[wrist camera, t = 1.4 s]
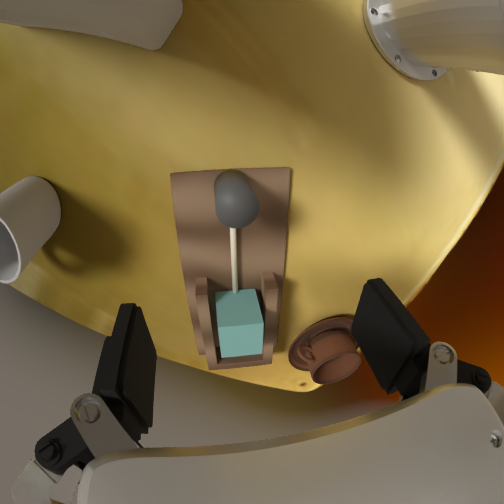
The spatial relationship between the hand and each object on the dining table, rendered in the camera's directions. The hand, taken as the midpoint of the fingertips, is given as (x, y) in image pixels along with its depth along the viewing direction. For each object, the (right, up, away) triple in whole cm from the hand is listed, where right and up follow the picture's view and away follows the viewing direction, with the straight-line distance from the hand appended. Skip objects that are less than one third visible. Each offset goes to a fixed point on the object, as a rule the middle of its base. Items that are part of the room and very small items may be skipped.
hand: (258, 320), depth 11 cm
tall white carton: (-13, +29, 0) cm, 32 cm away
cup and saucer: (+11, -10, +29) cm, 32 cm away
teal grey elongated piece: (-2, +2, +18) cm, 18 cm away
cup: (-24, +7, +12) cm, 28 cm away
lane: (-2, 0, +20) cm, 20 cm away
